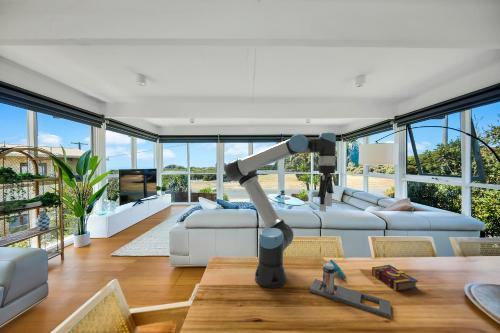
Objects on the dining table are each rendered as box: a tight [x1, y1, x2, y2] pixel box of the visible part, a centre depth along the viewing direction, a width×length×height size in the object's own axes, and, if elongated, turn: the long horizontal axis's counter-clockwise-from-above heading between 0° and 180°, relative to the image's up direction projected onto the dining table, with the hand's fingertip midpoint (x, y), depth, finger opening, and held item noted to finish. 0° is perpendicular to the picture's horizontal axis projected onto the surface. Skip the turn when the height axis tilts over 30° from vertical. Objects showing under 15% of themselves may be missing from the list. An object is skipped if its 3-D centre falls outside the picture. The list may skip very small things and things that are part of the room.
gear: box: [329, 259, 347, 279], centre depth 108 cm, size 11×6×10 cm
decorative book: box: [371, 264, 419, 293], centre depth 104 cm, size 11×16×5 cm
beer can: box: [322, 261, 336, 293], centre depth 94 cm, size 5×5×12 cm
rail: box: [309, 278, 392, 319], centre depth 90 cm, size 30×9×2 cm, turn 59°
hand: (325, 208), depth 104 cm, fingers open, 13 cm apart
